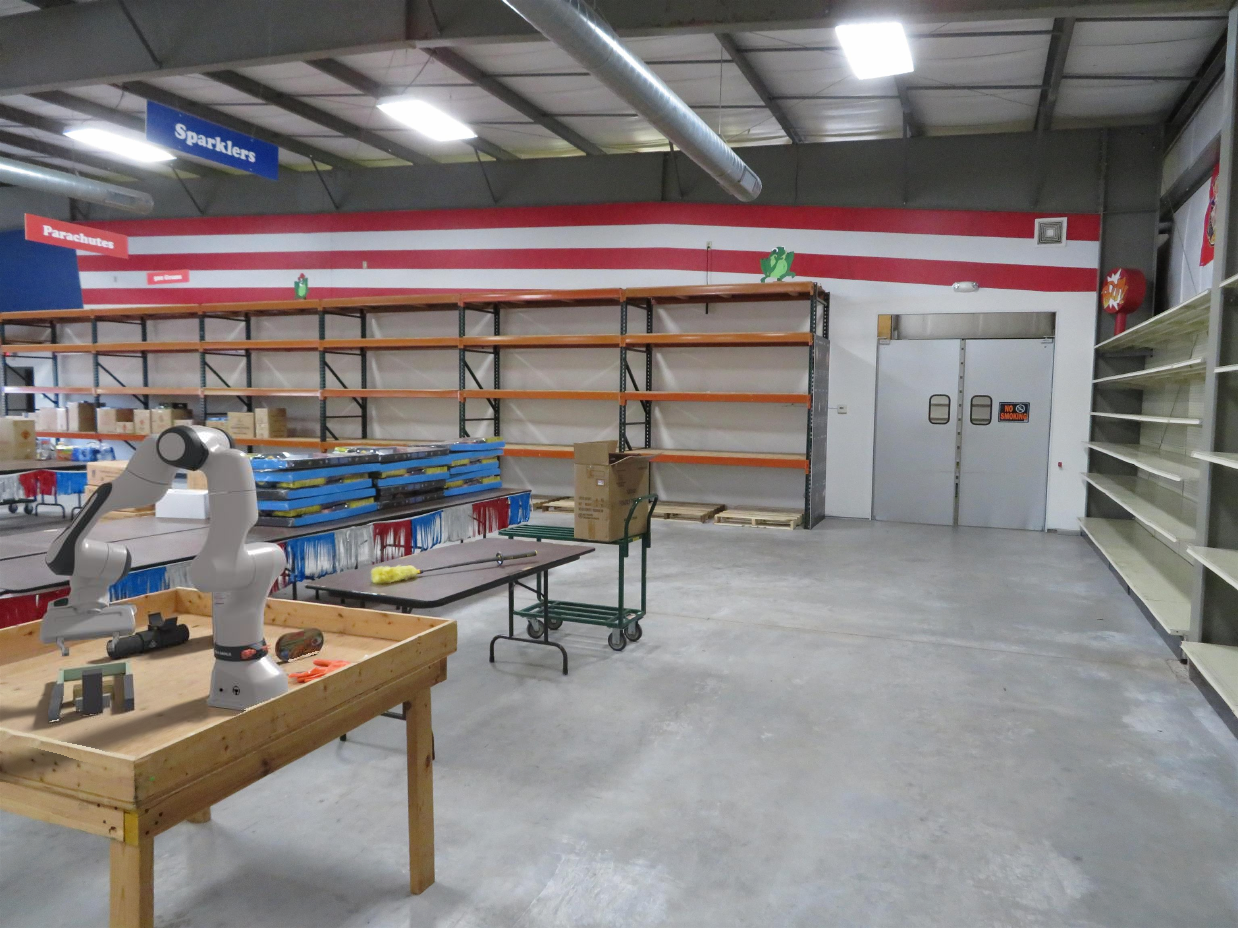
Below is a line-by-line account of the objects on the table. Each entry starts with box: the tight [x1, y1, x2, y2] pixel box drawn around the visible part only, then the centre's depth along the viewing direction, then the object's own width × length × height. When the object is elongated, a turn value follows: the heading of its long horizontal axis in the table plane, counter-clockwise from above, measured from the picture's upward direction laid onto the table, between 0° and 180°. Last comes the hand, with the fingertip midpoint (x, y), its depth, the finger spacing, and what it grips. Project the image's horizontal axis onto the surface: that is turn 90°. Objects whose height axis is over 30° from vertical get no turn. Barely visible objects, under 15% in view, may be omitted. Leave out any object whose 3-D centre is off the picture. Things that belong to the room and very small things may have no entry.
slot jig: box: [48, 673, 135, 722], centre depth 196 cm, size 20×17×3 cm
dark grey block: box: [75, 668, 111, 716], centre depth 191 cm, size 5×7×10 cm
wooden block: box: [72, 683, 82, 706], centre depth 197 cm, size 4×4×4 cm
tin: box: [274, 627, 325, 662], centre depth 235 cm, size 15×3×8 cm, turn 146°
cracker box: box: [211, 590, 232, 647], centre depth 251 cm, size 14×6×21 cm, turn 24°
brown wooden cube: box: [103, 679, 115, 701], centre depth 199 cm, size 4×4×4 cm
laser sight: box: [105, 611, 191, 660], centre depth 239 cm, size 10×22×10 cm, turn 149°
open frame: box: [56, 660, 132, 684], centre depth 210 cm, size 13×16×3 cm
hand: (88, 652), depth 197 cm, fingers open, 8 cm apart
